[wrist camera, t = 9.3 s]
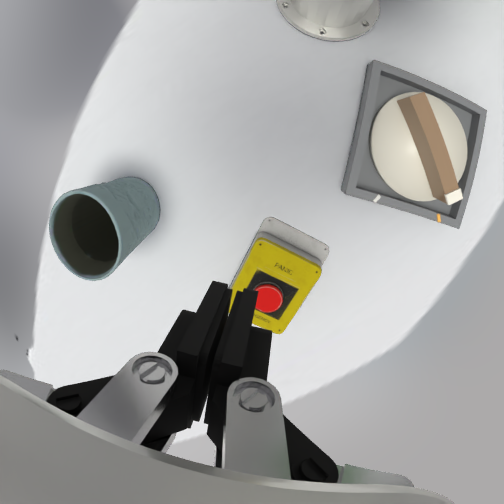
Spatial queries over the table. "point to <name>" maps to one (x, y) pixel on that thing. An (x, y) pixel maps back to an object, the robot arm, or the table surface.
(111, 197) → the teal cup
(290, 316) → the emergency button
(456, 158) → the dial
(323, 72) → the table surface
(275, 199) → the table surface
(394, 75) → the dial housing
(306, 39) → the table surface
